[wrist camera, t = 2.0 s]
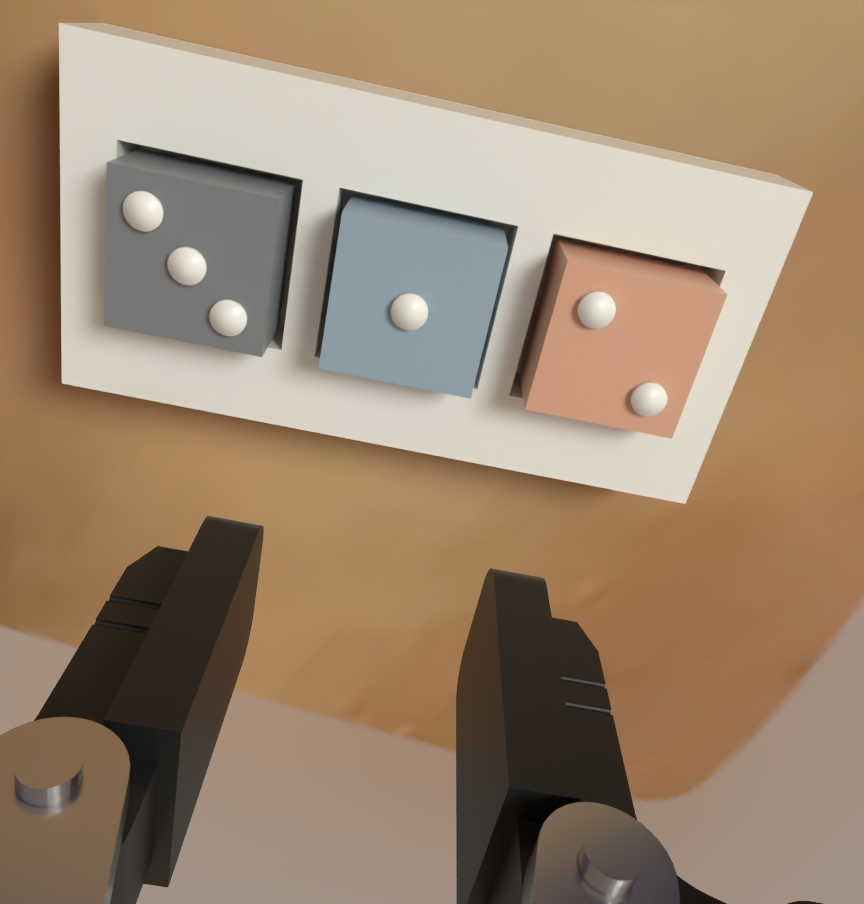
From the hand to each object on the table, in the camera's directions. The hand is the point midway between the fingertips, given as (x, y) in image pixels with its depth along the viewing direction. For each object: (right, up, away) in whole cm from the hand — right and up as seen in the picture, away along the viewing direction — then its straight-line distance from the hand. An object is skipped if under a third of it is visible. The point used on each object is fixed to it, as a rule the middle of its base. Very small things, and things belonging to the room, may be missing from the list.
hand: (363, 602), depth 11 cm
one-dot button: (0, +7, +13) cm, 15 cm away
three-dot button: (-6, +8, +13) cm, 16 cm away
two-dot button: (+6, +6, +14) cm, 16 cm away
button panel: (0, +8, +15) cm, 17 cm away
